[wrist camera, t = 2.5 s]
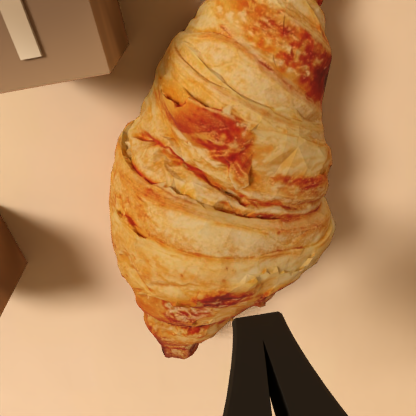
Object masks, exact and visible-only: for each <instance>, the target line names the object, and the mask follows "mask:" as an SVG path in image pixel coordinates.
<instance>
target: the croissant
mask: <svg viewBox="0 0 416 416" xmlns="http://www.w3.org/2000/svg"><path fill="white" fill-rule="evenodd" d="M322 2H323V0H205V2H204V3H203V4H202V5H201V6H200V7H199V9H198V11H197V14H196V16H195V18H194V19H191V20H190V22H189V24H188V26H187V28H186V30H185V31H182V32H179V33H178V34H177V35H176V36H175V37H174V38H173V39H172V41H171V43H170V45H169V46H168V48H167V50H166V52H165V54H164V56H163V58H162V59H161V60H160V62H159V64H158V66H157V68H156V70H155V79H154V83H153V85H152V87H151V90H150V92H149V93H148V95H147V96H146V98H145V99H144V102H143V104H142V106H141V112H140V116H139V117H138V118H136V120H133V121H132V122H130V123H128V124H127V125H126V127H125V128H124V130H123V131H122V133H121V135H120V136H119V138H118V142H117V146H116V150H115V162H114V164H113V169H112V172H111V185H110V197H109V207H110V219H111V237H112V243H113V247H114V251H115V254H116V256H117V260H118V267H119V269H120V271H121V274H122V276H123V277H124V278H125V279H126V280H127V282H128V283H129V284H130V286H131V287H132V289H133V291H134V293H135V296H136V302H137V305H138V306H139V307H140V308H141V309H142V310H143V311H144V321H145V324H146V326H147V327H148V329H149V330H150V332H151V333H152V334H153V335H154V336H155V338H156V339H157V341H158V342H159V343H160V344H161V347H162V351H163V353H164V355H165V357H167V358H170V357H174V358H181V359H186V358H188V357H190V356H191V355H193V354H194V352H195V351H196V349H197V348H198V345H199V343H202V342H203V341H205V340H207V339H209V338H212V337H213V336H214V335H215V334H216V333H217V332H218V331H219V330H220V329H221V328H222V327H223V326H224V325H225V324H226V323H227V322H229V321H233V317H234V316H236V315H238V314H240V313H241V312H243V311H244V310H246V309H247V308H250V307H252V306H258V307H262V306H265V303H266V302H267V301H268V300H269V299H271V298H272V296H273V295H274V294H275V293H276V292H277V291H279V290H281V289H283V288H284V287H286V286H288V285H290V284H291V283H293V282H295V281H296V280H297V279H298V278H299V277H300V275H301V274H302V273H303V272H304V271H306V270H307V269H308V268H310V267H312V266H313V265H314V264H316V263H317V261H318V259H319V258H320V256H321V255H322V253H323V252H324V250H325V249H326V248H327V247H328V246H329V245H330V242H331V240H332V237H333V234H334V231H335V221H334V220H333V218H332V215H331V212H330V209H329V206H328V203H327V200H326V198H325V197H324V195H325V194H326V192H327V189H328V186H329V185H328V180H327V177H328V172H329V169H330V167H331V165H332V155H331V148H330V147H329V146H328V145H327V143H326V142H325V138H324V128H323V125H322V120H321V119H322V109H321V104H322V99H323V95H324V90H325V85H326V80H327V76H328V72H329V67H330V63H331V59H332V56H331V48H330V45H329V43H328V40H327V37H326V35H325V17H324V13H323V11H322V9H321V8H320V6H321V4H322Z"/></svg>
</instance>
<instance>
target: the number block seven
mask: <svg viewBox="0 0 416 416" xmlns="http://www.w3.org/2000/svg"><path fill="white" fill-rule="evenodd" d="M26 265H27V261H26V259H25V257H24V256H23V254H22V252H21V250H20V248H19V247H18V245H17V243H16V241H15V240H14V238H13V236H12V234H11V232H10V231H9V229H8V227H7V225H6V224H5V222H4V220H3V218H2V216H1V215H0V316H1V314H2V312H3V310H4V308H5V306H6V305H7V303H8V301H9V299H10V297H11V295H12V293H13V291H14V289H15V287H16V285H17V283H18V281H19V279H20V277H21V275H22V273H23V271H24V269H25V267H26Z"/></svg>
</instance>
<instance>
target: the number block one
mask: <svg viewBox="0 0 416 416" xmlns="http://www.w3.org/2000/svg"><path fill="white" fill-rule="evenodd" d="M128 44H129V42H128V38H127V34H126V30H125V26H124V22H123V18H122V14H121V11H120V7H119V3H118V0H0V94H1V93H6V92H12V91H17V90H23V89H28V88H34V87H39V86H45V85H50V84H56V83H61V82H67V81H72V80H78V79H83V78H89V77H94V76H100V75H105V74H110V73H111V72H112V70H113V68H114V67H115V65H116V64H117V62H118V60H119V59H120V57H121V56H122V54H123V52H124V51H125V49H126V48H127V46H128Z"/></svg>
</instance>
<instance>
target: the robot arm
mask: <svg viewBox="0 0 416 416" xmlns="http://www.w3.org/2000/svg"><path fill="white" fill-rule="evenodd" d="M232 326H233V350H232V361H231V370H230V377H229V384H228V391H227V397H226V403H225V408H224V413H223V416H272V411H271V403H270V398H271V402H272V405H273V409H274V412H275V415H276V416H348V415H347V414H346V412H345V411H344V410H343V409H342V407H341V406H340V405H339V403H338V402H337V401H336V399H335V398H334V397H333V395H332V394H331V393H330V391H329V390H328V389H327V387H326V386H325V384H324V383H323V382H322V380H321V379H320V377H319V376H318V374H317V373H316V371H315V370H314V369H313V367H312V366H311V364H310V363H309V361H308V360H307V358H306V357H305V355H304V353H303V352H302V350H301V348H300V347H299V345H298V344H297V342H296V340H295V338H294V337H293V335H292V333H291V331H290V329H289V328H288V326H287V324H286V322H285V319H284V317H283V315H282V314H281V313H280V312H272V313H266V314H260V315H253V316H247V317H241V318H235V319H234V320H233V321H232Z"/></svg>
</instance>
